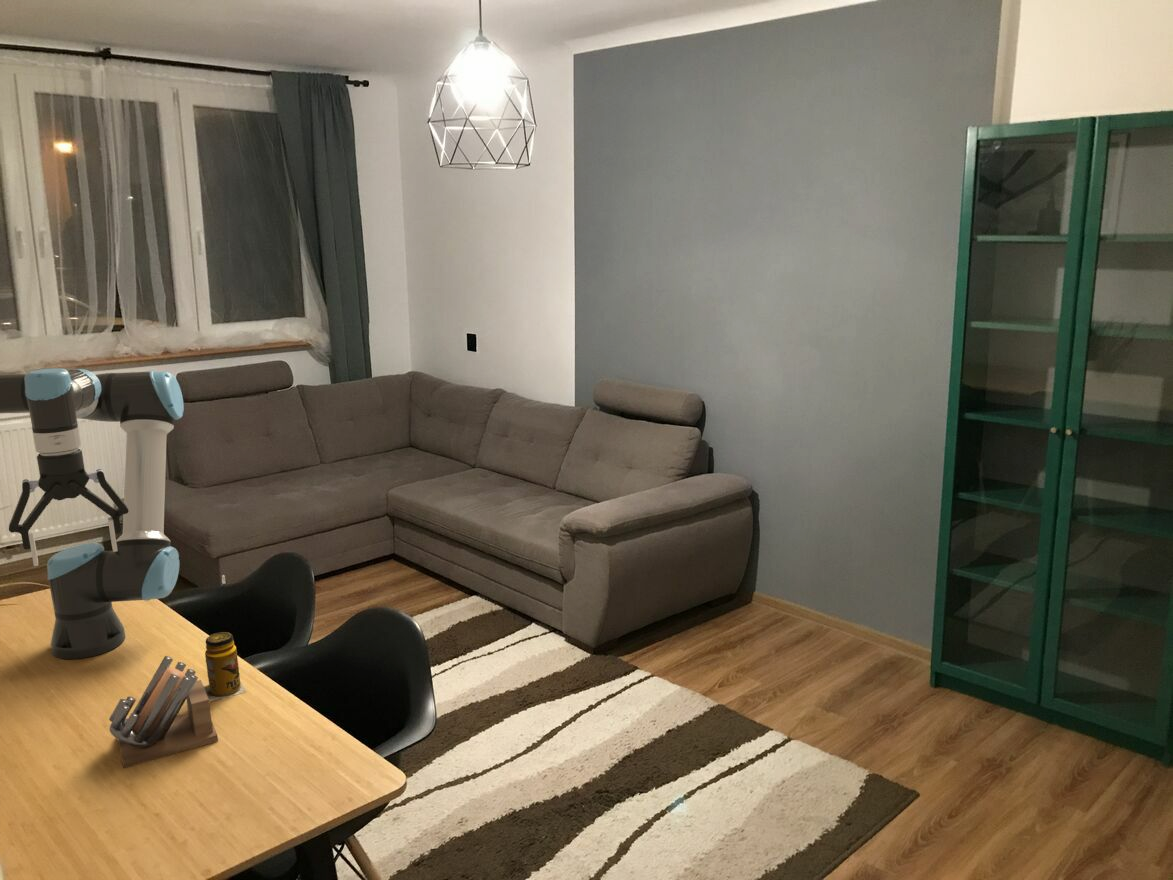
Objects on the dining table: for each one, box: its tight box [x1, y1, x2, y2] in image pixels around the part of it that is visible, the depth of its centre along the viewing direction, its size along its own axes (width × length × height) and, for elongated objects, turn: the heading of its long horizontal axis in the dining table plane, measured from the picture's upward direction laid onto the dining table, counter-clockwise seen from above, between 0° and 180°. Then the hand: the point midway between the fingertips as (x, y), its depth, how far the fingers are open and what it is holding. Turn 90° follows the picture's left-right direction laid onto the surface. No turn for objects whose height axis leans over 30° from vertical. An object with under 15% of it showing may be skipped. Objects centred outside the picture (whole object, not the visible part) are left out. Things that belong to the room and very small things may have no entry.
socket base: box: [117, 679, 219, 769], centre depth 174 cm, size 12×16×8 cm
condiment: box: [203, 631, 247, 703], centre depth 191 cm, size 7×8×12 cm
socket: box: [108, 655, 199, 749], centre depth 173 cm, size 10×16×15 cm, turn 121°
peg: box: [133, 667, 187, 736], centre depth 173 cm, size 4×4×12 cm
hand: (76, 556), depth 181 cm, fingers open, 13 cm apart
